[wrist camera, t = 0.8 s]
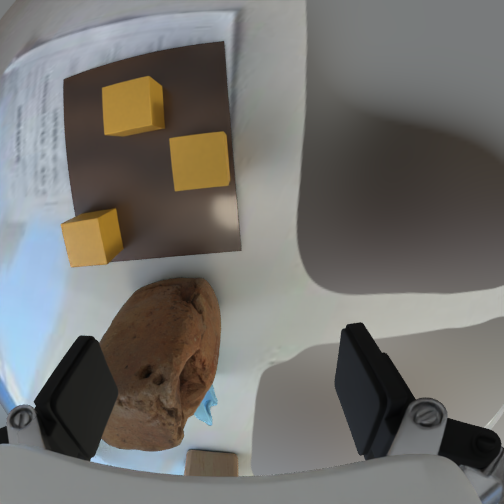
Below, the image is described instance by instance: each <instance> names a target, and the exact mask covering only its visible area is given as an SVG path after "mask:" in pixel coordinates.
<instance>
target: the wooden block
mask: <svg viewBox="0 0 504 504" xmlns="http://www.w3.org/2000/svg"><path fill="white" fill-rule="evenodd" d="M184 476H204V477H238V457H237V455H236V454H234V453H221V452H210V451H201V450H189V451H188V452H187V455H186V463H185V471H184Z"/></svg>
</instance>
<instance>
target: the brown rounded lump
mask: <svg viewBox="0 0 504 504" xmlns="http://www.w3.org/2000/svg"><path fill="white" fill-rule="evenodd" d="M220 334H221V315H220V309H219V304H218V300H217V297H216V295H215V292H214V290H213V289H212V287H211V286H210V285H209V283H208V282H207V281H206V280H205V279H202V278H175V279H168V280H163V281H158V282H155V283H152V284H149V285H147V286H144V287H142V288H140V289H139V290H137V291H135V292H134V293H133V295H132V296H131V297H130V298H129V299H128V300H127V302H126V303H125V304H124V305H123V307H122V308H121V309H120V311H119V312H118V314H117V315H116V316H115V318H114V319H113V321H112V323H111V325H110V327H109V328H108V330H107V331H106V333H105V334H104V336H103V337H102V339H101V341H100V343H99V344H100V347H101V350H102V352H103V355H104V357H105V360H106V362H107V365H108V367H109V369H110V372H111V374H112V377H113V379H114V381H115V383H116V386H117V388H118V397H117V400H116V402H115V405H114V407H113V410H112V412H111V415H110V417H109V420H108V422H107V425H106V427H105V430H104V432H103V435H102V438H101V439H102V440H104V441H105V442H106V443H107V444H109V445H111V446H113V447H116V448H119V449H136V450H142V451H162V450H166V449H170V448H173V447H176V446H178V445H180V443H181V441H182V439H183V437H184V431H183V429H184V426H185V424H186V421H187V419H188V418H189V417H190V416H192V415H193V414H194V413H195V412H196V410H197V408H198V407H199V406H200V404H201V402H202V400H203V399H204V397H205V395H206V393H207V391H208V390H209V389H210V387H211V385H212V383H213V381H214V378H215V374H216V370H217V364H218V357H219V347H220Z"/></svg>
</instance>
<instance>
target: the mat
mask: <svg viewBox="0 0 504 504" xmlns="http://www.w3.org/2000/svg"><path fill="white" fill-rule="evenodd" d="M146 76H150V77H151V78H152V79H154V80H155V81H156V82H158V83H159V84H160V85H161V86H162V91H163V107H164V121H165V129H160V130H154V131H149V132H143V133H138V134H133V135H128V136H124V137H123V136H110V135H105V134H104V120H103V101H102V88H103V87H106V86H110V85H113V84H117V83H121V82H125V81H129V80H133V79H137V78H141V77H146ZM63 95H64V126H65V141H66V152H67V162H68V171H69V178H70V185H71V192H72V198H73V204H74V210H75V216H78V215H80V214H83V213H89V212H95V211H101V210H107V209H114V208H116V211H117V217H118V223H119V228H120V234H121V239H122V244H123V250H122V251H121V252H120V253H119V254H118V255H117V256H115V257H114V258H113V259H112V260H111V261H110V262H116V261H128V260H139V259H151V258H162V257H174V256H185V255H197V254H208V253H220V252H232V251H241V239H240V228H239V217H238V206H237V195H236V183H235V172H234V160H233V148H232V136H231V124H230V112H229V99H228V86H227V73H226V60H225V46H224V41H222V42H213V43H205V44H197V45H190V46H184V47H178V48H172V49H167V50H162V51H157V52H152V53H148V54H143V55H139V56H135V57H131V58H127V59H124V60H120V61H117V62H113V63H110V64H106V65H103V66H100V67H97V68H94V69H91V70H88V71H85V72H82V73H79V74H77V75H74V76H71V77H69V78H66V79H64V86H63ZM221 131H224V132H225V134H226V135H227V147H228V158H229V170H230V182H229V185H228V186H220V187H210V188H200V189H191V190H183V191H175V189H174V180H173V171H172V162H171V152H170V141H169V138H174V137H180V136H188V135H195V134H203V133H212V132H221Z"/></svg>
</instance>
